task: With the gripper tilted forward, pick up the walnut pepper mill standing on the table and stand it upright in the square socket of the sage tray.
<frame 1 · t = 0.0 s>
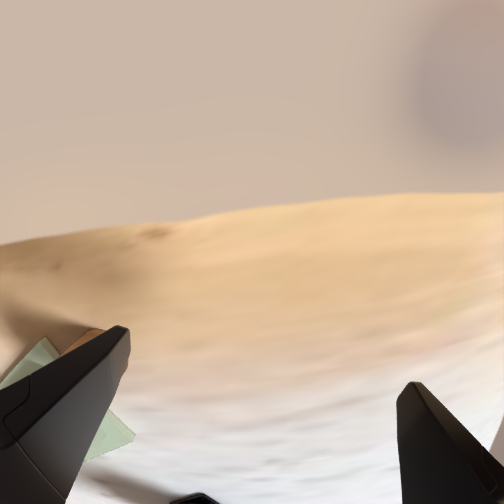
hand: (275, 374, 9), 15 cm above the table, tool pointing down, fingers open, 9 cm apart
pepper mill: (103, 354, 26), on the table
sage tray: (59, 409, 28), on the table
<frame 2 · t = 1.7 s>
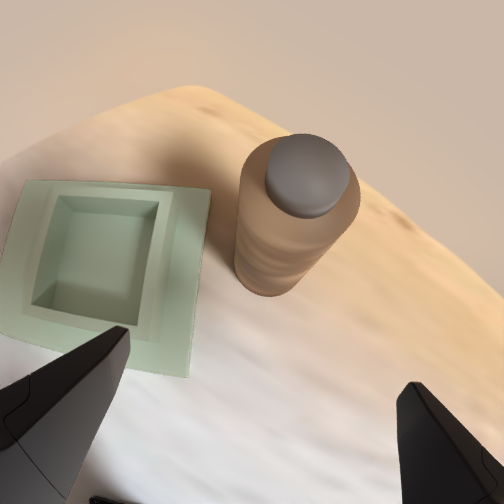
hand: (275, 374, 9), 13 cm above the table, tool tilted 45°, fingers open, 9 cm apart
pepper mill: (268, 262, 24), on the table
sage tray: (111, 270, 23), on the table
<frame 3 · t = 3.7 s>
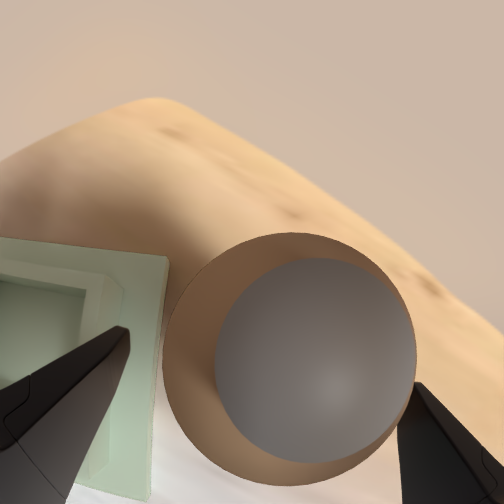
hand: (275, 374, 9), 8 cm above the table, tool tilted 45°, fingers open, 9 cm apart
pepper mill: (249, 359, 17), on the table
sage tray: (47, 360, 15), on the table
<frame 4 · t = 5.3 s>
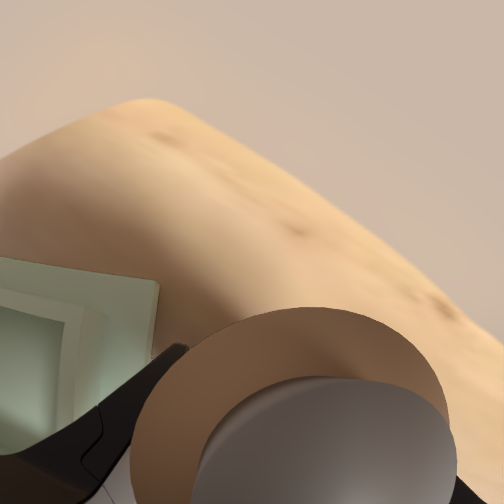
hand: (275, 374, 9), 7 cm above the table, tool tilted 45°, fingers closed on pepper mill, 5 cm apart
pepper mill: (248, 393, 15), on the table, touching gripper
sage tray: (32, 387, 13), on the table
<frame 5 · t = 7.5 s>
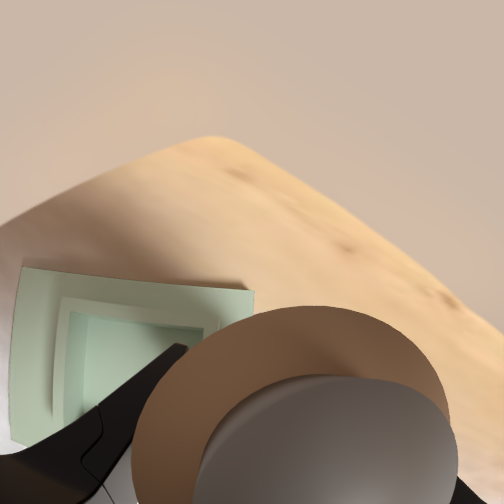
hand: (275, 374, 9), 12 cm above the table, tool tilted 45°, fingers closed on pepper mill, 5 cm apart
pepper mill: (248, 393, 15), point 6 cm above the table, touching gripper
sage tray: (144, 384, 19), on the table
when the fingers open (9 cm above the table, at t = 9.8 s): pepper mill drops 1 cm, resting on sage tray.
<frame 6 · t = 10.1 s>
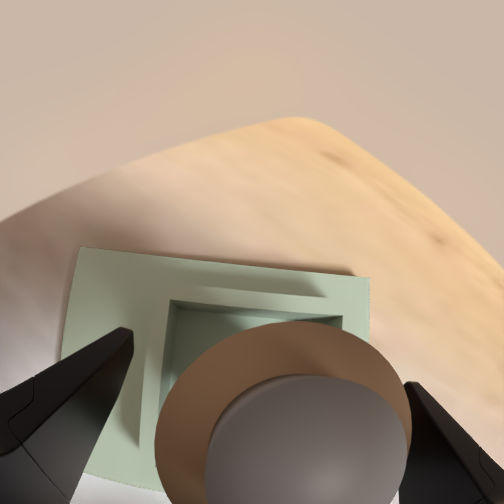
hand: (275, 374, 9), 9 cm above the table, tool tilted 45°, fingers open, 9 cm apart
pepper mill: (246, 392, 16), point 1 cm above the table, touching sage tray
sage tray: (244, 388, 17), on the table
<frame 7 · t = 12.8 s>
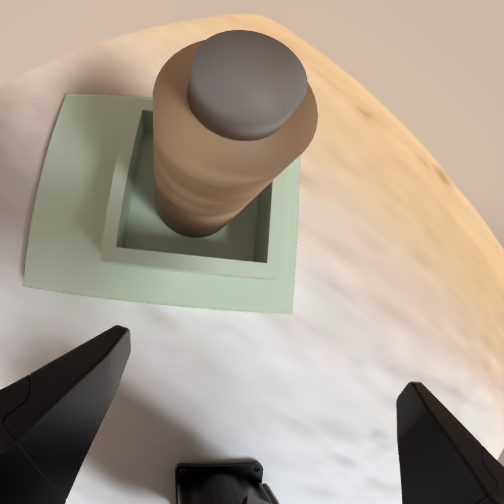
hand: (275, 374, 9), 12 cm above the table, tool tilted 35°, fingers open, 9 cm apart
pepper mill: (196, 197, 20), point 1 cm above the table, touching sage tray
sage tray: (194, 200, 21), on the table
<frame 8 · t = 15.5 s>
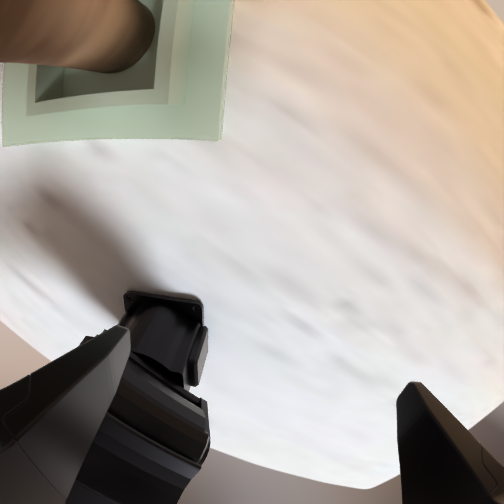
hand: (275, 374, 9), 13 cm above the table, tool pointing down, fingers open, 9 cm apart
pepper mill: (116, 35, 15), point 1 cm above the table, touching sage tray
sage tray: (125, 37, 16), on the table
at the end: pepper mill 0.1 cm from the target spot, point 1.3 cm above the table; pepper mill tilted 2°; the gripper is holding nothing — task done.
